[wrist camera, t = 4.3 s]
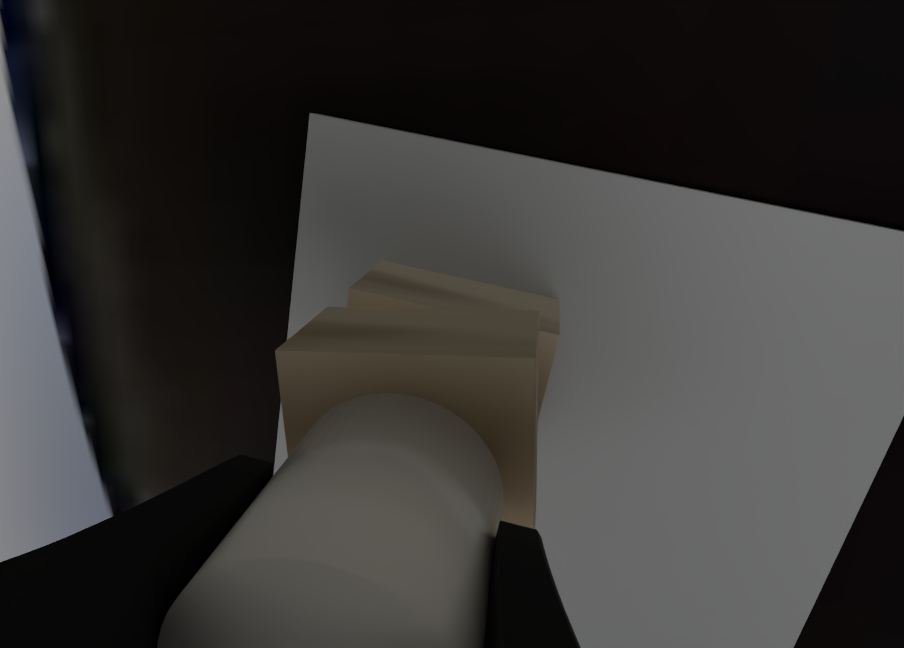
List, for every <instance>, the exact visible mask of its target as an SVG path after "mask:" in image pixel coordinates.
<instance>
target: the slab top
mask: <svg viewBox="0 0 904 648" xmlns="http://www.w3.org/2000/svg"><path fill="white" fill-rule="evenodd" d="M275 355H276V363H277V372H278V380H279V388H280V397H281V405H282V413H283V421H284V430H285V438H286V446H287V454H288V457H289V455H290V454H291V453H292V451H293V450H294V449H295V448H296V446H297V445H298V444H299V443H300V441H301V440H302V439H303V438H304V436H305V435H306V434H307V432H308V431H309V430H310V429H311V427H312V426H313V425H314V424H315V423H316V422H317V421H318V420H319V419H320V418H321V417H322V416H323V415H324V414H325V413H327V412H328V411H329V410H330V409H332V408H334V407H335V406H337V405H339V404H341V403H343V402H345V401H348V400H350V399H353V398H356V397H360V396H364V395H368V394H377V393H398V394H405V395H411V396H415V397H419V398H423V399H426V400H428V401H431V402H433V403H436V404H438V405H440V406H442V407H444V408H446V409H448V410H450V411H451V412H453V413H454V414H456V415H457V416H458V417H460V418H461V419H463V420H464V421H465V422H466V423H467V424H468V425H469V426H471V427H472V428H473V429H474V430H475V431H476V432H477V434H478V435H479V436H480V437H481V438H482V439H483V441H484V442H485V444H486V445H487V447H488V448H489V450H490V451H491V453H492V455H493V457H494V459H495V461H496V463H497V466H498V469H499V472H500V475H501V479H502V484H503V494H504V503H503V512H502V519H501V521H505V522H509V523H513V524H516V525H520V526H524V527H528V528H532V529H535V519H536V494H537V433H538V371H539V311H534V310H481V309H427V308H374V307H326V308H325V309H324V310H323V311H322V312H320V313H319V314H318V315H317V316H316V317H314V318H313V319H312V320H311V321H310V322H308V323H307V324H306V325H305V326H304V327H303V328H301V329H300V330H299V331H298V332H297V333H295V334H294V335H293V336H292V337H291V338H289V339H288V340H287V341H286V342H285V343H283V344H282V345H281V346H280V347H279V348H277V349H276V350H275Z"/></svg>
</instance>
